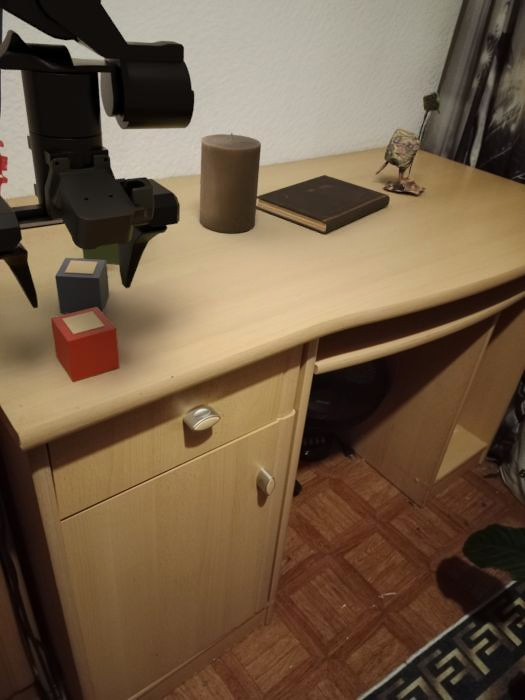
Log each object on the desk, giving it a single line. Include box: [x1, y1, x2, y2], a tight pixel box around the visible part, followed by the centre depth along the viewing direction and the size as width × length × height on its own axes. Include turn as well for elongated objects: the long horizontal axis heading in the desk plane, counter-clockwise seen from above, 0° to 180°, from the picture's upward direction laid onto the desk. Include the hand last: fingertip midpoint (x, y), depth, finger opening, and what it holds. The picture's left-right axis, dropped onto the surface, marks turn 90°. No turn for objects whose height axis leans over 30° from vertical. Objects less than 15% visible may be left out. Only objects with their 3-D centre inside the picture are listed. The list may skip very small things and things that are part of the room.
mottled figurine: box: [374, 91, 441, 195], centre depth 114 cm, size 8×11×20 cm
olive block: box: [82, 244, 119, 265], centre depth 78 cm, size 5×5×5 cm
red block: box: [50, 307, 120, 383], centre depth 56 cm, size 5×5×5 cm
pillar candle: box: [199, 132, 262, 234], centre depth 90 cm, size 10×10×15 cm
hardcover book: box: [256, 174, 391, 235], centre depth 105 cm, size 16×23×2 cm
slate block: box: [55, 257, 110, 314], centre depth 66 cm, size 5×5×5 cm
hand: (82, 295), depth 53 cm, fingers open, 9 cm apart
